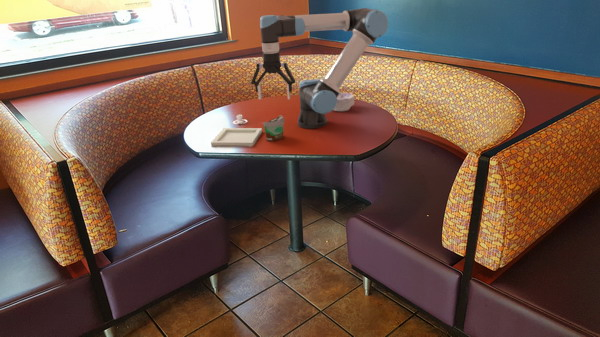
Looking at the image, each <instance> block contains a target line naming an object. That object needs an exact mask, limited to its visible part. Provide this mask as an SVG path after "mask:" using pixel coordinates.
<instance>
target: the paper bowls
mask: <svg viewBox="0 0 600 337" xmlns="http://www.w3.org/2000/svg"><path fill="white" fill-rule="evenodd" d="M354 105H355V95H354V94H352V93H349V92H340V93H339V95H338V97H337V104H336V106H335V108H334V109H333V110H332V111H335V112H346V111H349V110H350V109H351V107H353V106H354Z"/></svg>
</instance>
